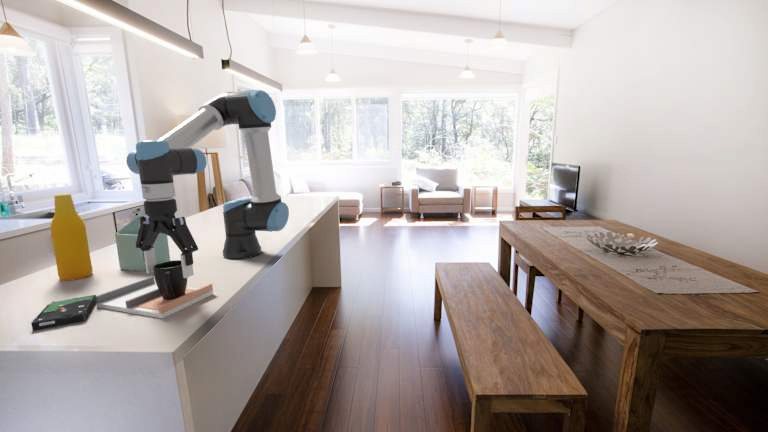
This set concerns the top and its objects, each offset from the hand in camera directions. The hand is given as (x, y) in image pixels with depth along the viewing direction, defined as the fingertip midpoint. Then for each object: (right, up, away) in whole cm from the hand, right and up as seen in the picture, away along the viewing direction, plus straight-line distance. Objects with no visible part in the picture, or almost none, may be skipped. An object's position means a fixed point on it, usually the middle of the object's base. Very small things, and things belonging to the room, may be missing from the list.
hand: (169, 274), depth 101 cm
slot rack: (-5, -8, +3) cm, 10 cm away
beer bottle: (-49, -5, +26) cm, 56 cm away
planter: (-30, -3, +35) cm, 46 cm away
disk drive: (-24, -11, -5) cm, 27 cm away
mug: (0, -7, +1) cm, 7 cm away
